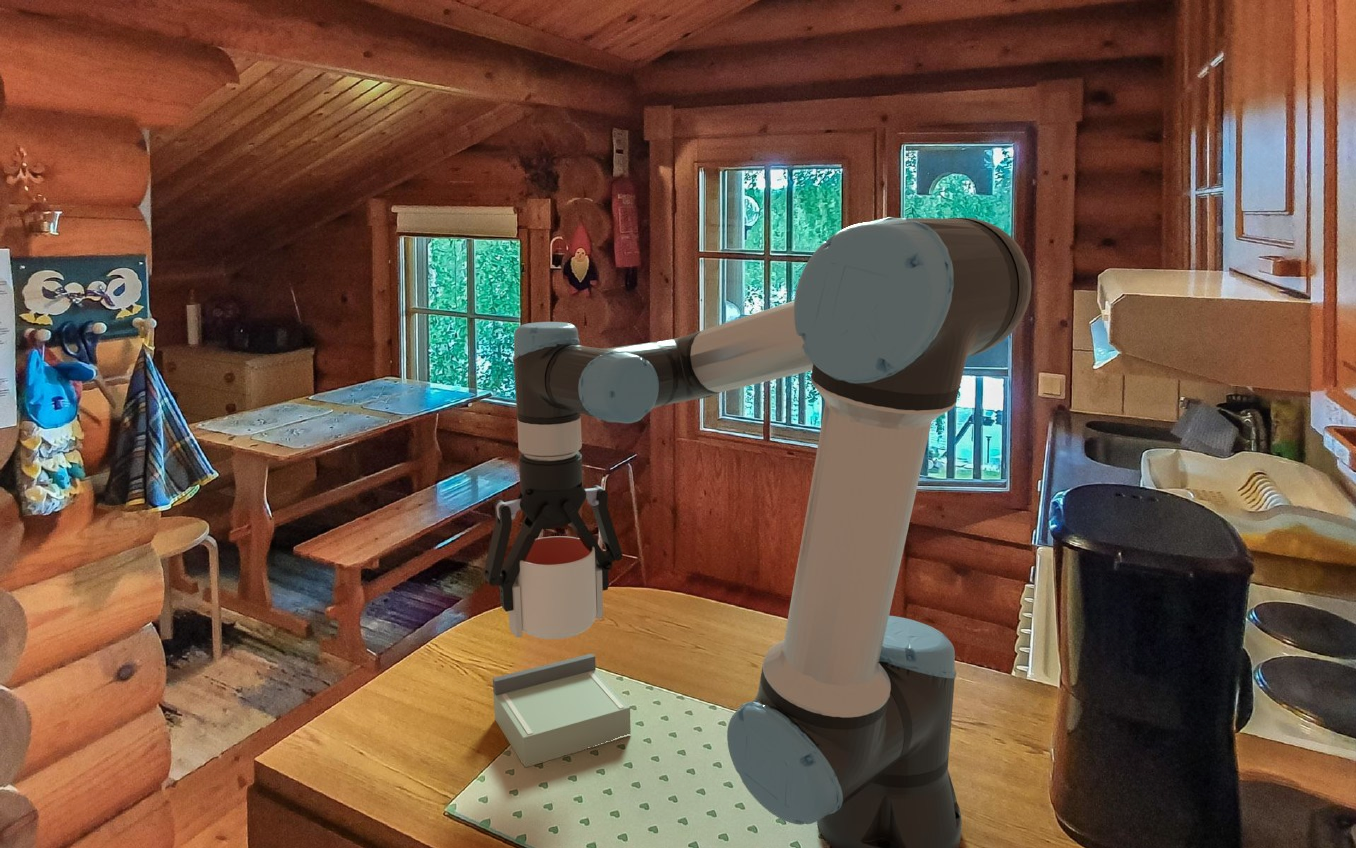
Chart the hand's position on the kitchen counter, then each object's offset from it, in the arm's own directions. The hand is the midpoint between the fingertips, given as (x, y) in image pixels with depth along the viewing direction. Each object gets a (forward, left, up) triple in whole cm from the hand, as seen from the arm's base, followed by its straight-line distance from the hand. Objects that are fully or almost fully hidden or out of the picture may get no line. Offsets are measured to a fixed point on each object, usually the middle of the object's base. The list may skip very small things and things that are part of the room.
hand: (557, 623), depth 114 cm
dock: (0, 0, -15) cm, 15 cm away
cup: (0, 0, 0) cm, 0 cm away
